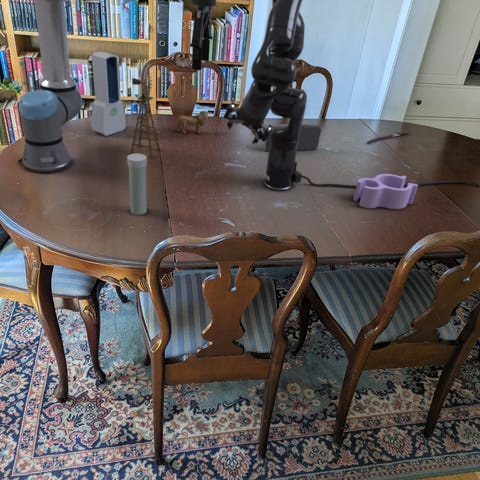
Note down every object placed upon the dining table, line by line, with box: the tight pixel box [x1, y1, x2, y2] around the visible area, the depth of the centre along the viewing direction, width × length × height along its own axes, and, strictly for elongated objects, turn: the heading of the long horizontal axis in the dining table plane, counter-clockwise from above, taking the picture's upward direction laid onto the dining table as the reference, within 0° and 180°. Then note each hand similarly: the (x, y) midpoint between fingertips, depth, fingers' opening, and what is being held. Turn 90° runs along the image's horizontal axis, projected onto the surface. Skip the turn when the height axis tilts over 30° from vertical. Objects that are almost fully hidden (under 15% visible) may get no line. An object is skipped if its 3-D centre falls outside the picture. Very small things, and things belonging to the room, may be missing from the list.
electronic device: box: [90, 51, 127, 137], centre depth 182 cm, size 12×8×30 cm, turn 148°
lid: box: [126, 153, 148, 168], centre depth 130 cm, size 5×5×2 cm
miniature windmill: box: [130, 70, 160, 158], centre depth 168 cm, size 9×8×30 cm
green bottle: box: [128, 165, 148, 216], centre depth 134 cm, size 5×5×17 cm
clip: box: [352, 173, 419, 210], centre depth 157 cm, size 20×12×7 cm, turn 109°
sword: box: [367, 132, 410, 144], centre depth 214 cm, size 31×3×1 cm, turn 126°
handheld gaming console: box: [264, 124, 322, 152], centre depth 189 cm, size 23×3×10 cm, turn 108°
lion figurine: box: [173, 110, 209, 135], centre depth 195 cm, size 15×5×9 cm, turn 110°
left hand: (200, 65), depth 149 cm, fingers open, 13 cm apart
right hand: (242, 133), depth 143 cm, fingers open, 8 cm apart
